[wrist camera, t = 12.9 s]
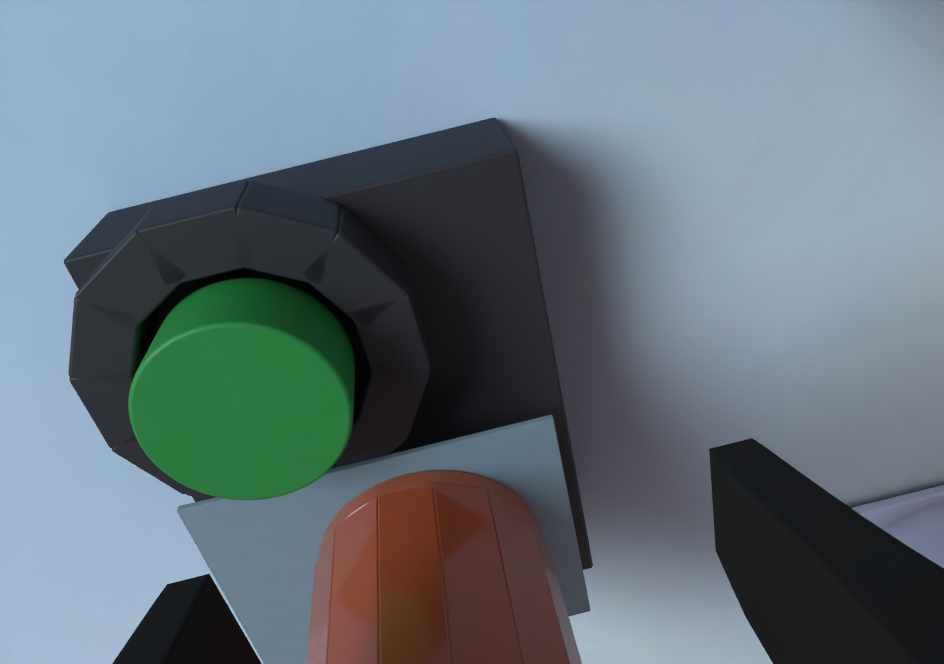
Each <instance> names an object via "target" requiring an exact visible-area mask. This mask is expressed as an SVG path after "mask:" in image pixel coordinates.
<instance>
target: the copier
mask: <svg viewBox="0 0 944 664" xmlns="http://www.w3.org/2000/svg"><path fill="white" fill-rule="evenodd" d="M64 264H65V265H66V267H67V269H68V271H69V273H70V275H71V276H72V278H73V280H74V282H75V284H76V286H77V287H78V289H79V290H78V291H77V293H76V297H75V299H74V310H73V323H72V336H71V348H70V361H69V376H70V382H71V384H72V385H73V387H74V389H75V390H76V392H77V394H78V396H79V397H80V399H81V401H82V402H83V404H84V406H85V407H86V409H87V411H88V412H89V414H90V416H91V417H92V419H93V421H94V422H95V424H96V426H97V427H98V429H99V431H100V432H101V434H102V436H103V437H104V439H105V441H106V442H107V444H108V446H109V447H110V448H112V451H113V452H115V453H116V454H118V455H120V456H121V457H123V458H125V459H126V460H128V461H129V462H131V463H133V464H134V465H136V466H138V467H139V468H141V469H143V470H144V471H146V472H147V473H149V474H151V475H152V476H154V477H156V478H157V479H159V480H160V481H162V482H164V483H165V484H167V485H169V486H170V487H172V488H174V489H175V490H177V491H178V492H180V493H182V494H186V495H189V496H192V497H193V499H194V501H195V502H199V501H203V500H207V499H211V498H215V496H211V495H208V494H204V493H201V492H198V491H196V490H193V489H191V488H189V487H186V486H185V485H183V484H181V483H179V482H177V481H176V480H174V479H173V478H171V477H170V476H168V475H167V474H165V473H164V472H163V471H162V470H161V469H160V468H158V467H157V466H156V465H155V464H154V463H153V462H152V461H151V459H150V458H149V457H148V456H147V455H146V454H145V452H144V451H143V449H142V448H141V446H140V445H139V443H138V440H137V438H136V436H135V434H134V431H133V428H132V425H131V422H130V416H129V408H128V405H129V393H130V388H131V384H132V381H133V379H134V376H135V374H136V371H137V370H138V368H139V366H140V364H141V362H142V360H143V358H144V356H145V355H146V353H147V351H148V349H149V347H150V345H151V343H152V341H153V340H154V338H155V336H156V334H157V332H158V330H159V328H160V326H161V325H162V323H163V321H164V320H165V318H166V316H167V315H168V314H169V312H170V311H171V310H172V309H173V308H174V307H175V306H176V305H177V304H178V303H179V302H180V301H181V300H183V299H184V298H185V297H186V296H188V295H190V294H191V293H193V292H194V291H196V290H198V289H200V288H203V287H205V286H207V285H210V284H213V283H216V282H220V281H225V280H230V279H238V278H260V279H267V280H273V281H277V282H281V283H284V284H288V285H290V286H293V287H295V288H298V289H300V290H302V291H304V292H306V293H307V294H309V295H311V296H313V297H314V298H315V299H317V300H318V301H320V302H321V303H322V304H324V305H325V306H326V307H327V308H328V309H329V310H330V311H331V312H332V313H333V314H334V315H335V316H336V318H337V319H338V320H339V321H340V323H341V324H342V326H343V327H344V329H345V331H346V332H347V334H348V337H349V339H350V341H351V344H352V348H353V351H354V357H355V386H354V412H353V427H352V431H351V436H350V438H349V441H348V444H347V446H346V448H345V450H344V451H343V453H342V455H341V456H340V458H339V459H338V460H337V462H336V463H335V464H334V465H333V466H332V467H331V468H330V469H333V468H337V467H341V466H345V465H349V464H353V463H357V462H361V461H365V460H369V459H373V458H377V457H381V456H385V455H389V454H393V453H398V452H402V451H406V450H410V449H414V448H418V447H422V446H426V445H430V444H434V443H438V442H442V441H446V440H450V439H454V438H458V437H462V436H466V435H471V434H475V433H479V432H483V431H487V430H491V429H495V428H499V427H503V426H507V425H511V424H515V423H519V422H523V421H527V420H531V419H535V418H540V417H544V416H548V415H552V416H553V419H554V424H555V429H556V435H557V440H558V445H559V450H560V455H561V460H562V466H563V471H564V476H565V481H566V486H567V492H568V497H569V502H570V507H571V512H572V517H573V523H574V528H575V533H576V538H577V543H578V549H579V554H580V559H581V564H582V569H583V570H584V569H588V568H592V566H593V564H592V558H591V553H590V547H589V542H588V536H587V531H586V525H585V520H584V514H583V509H582V503H581V498H580V492H579V487H578V481H577V476H576V470H575V465H574V459H573V454H572V448H571V443H570V437H569V432H568V426H567V421H566V415H565V410H564V404H563V399H562V393H561V388H560V382H559V377H558V371H557V366H556V360H555V355H554V349H553V344H552V338H551V333H550V327H549V322H548V316H547V311H546V305H545V300H544V294H543V289H542V283H541V278H540V272H539V267H538V261H537V256H536V250H535V245H534V239H533V234H532V228H531V222H530V217H529V211H528V206H527V200H526V195H525V189H524V184H523V178H522V173H521V167H520V162H519V156H518V151H517V149H516V148H515V146H514V145H513V143H512V142H511V140H510V139H509V137H508V136H507V134H506V133H505V131H504V130H503V128H502V127H501V125H500V124H499V122H498V120H497V119H496V118H491V119H486V120H482V121H478V122H474V123H470V124H466V125H462V126H458V127H454V128H450V129H446V130H442V131H438V132H434V133H430V134H426V135H421V136H417V137H413V138H409V139H405V140H401V141H397V142H393V143H389V144H385V145H381V146H377V147H373V148H369V149H365V150H360V151H356V152H352V153H348V154H344V155H340V156H336V157H332V158H328V159H324V160H320V161H316V162H312V163H308V164H304V165H300V166H295V167H291V168H287V169H283V170H279V171H275V172H271V173H267V174H263V175H259V176H255V177H251V178H247V179H243V180H239V181H235V182H230V183H226V184H222V185H218V186H214V187H210V188H206V189H202V190H198V191H194V192H190V193H186V194H182V195H178V196H174V197H170V198H165V199H161V200H157V201H153V202H149V203H145V204H141V205H137V206H133V207H129V208H125V209H121V210H117V211H113V212H109V213H108V214H107V215H106V216H105V217H104V218H103V219H102V220H101V221H100V222H99V223H98V224H97V225H96V226H95V227H94V228H93V230H92V231H91V232H90V233H89V234H88V235H87V236H86V237H85V238H84V239H83V240H82V241H81V242H80V243H79V245H78V246H77V247H76V248H75V249H74V250H73V251H72V252H71V253H70V254H69V255H68V256H67V257H66V258H65V260H64Z"/></svg>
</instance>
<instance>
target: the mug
mask: <svg viewBox="0 0 944 664" xmlns="http://www.w3.org/2000/svg"><path fill="white" fill-rule="evenodd" d="M306 664H582V662H581V659H580V655H579V652H578V648H577V645H576V641H575V638H574V634H573V631H572V627H571V624H570V620H569V617H568V613H567V610H566V606H565V603H564V599H563V596H562V592H561V589H560V585H559V582H558V578H557V575H556V571H555V568H554V564H553V561H552V557H551V554H550V550H549V547H548V544H547V542H546V541H545V539H544V537H543V535H542V531H541V528H540V525H539V522H538V520H537V518H536V516H535V514H534V513H533V511H532V510H531V509H530V507H529V506H528V505H527V503H526V502H525V501H524V500H523V499H521V498H520V497H519V496H518V495H517V494H516V493H515V492H513V491H512V490H510V489H509V488H507V487H506V486H504V485H502V484H500V483H498V482H496V481H494V480H491V479H489V478H486V477H483V476H480V475H476V474H472V473H467V472H460V471H451V470H433V471H421V472H415V473H410V474H405V475H401V476H398V477H395V478H391V479H388V480H386V481H384V482H381V483H379V484H377V485H374V486H373V487H371V488H369V489H367V490H365V491H364V492H362V493H361V494H359V495H358V496H356V497H355V498H354V499H352V500H351V501H350V502H349V503H347V504H346V505H345V506H344V507H343V508H342V509H341V510H340V511H339V512H338V514H337V515H336V516H335V517H334V519H333V520H332V521H331V523H330V524H329V526H328V528H327V529H326V531H325V533H324V536H323V538H322V541H321V544H320V548H319V553H318V560H317V561H316V563H315V570H314V581H313V592H312V603H311V615H310V626H309V637H308V648H307V659H306Z"/></svg>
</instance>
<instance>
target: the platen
mask: <svg viewBox="0 0 944 664" xmlns="http://www.w3.org/2000/svg"><path fill="white" fill-rule="evenodd" d="M433 470H451V471H460V472H467V473H472V474H476V475H480V476H483V477H486V478H489V479H491V480H494V481H496V482H498V483H500V484H502V485H504V486H506V487H507V488H509V489H510V490H512V491H513V492H515V493H516V494H517V495H518V496H519V497H520V498H521V499H523V500H524V501H525V502H526V503H527V505H528V506H529V507H530V509H531V510H532V511H533V513H534V514H535V516H536V518H537V520H538V522H539V525H540V528H541V531H542V535H543V537H544V539H545V541H546V542H547V544H548V547H549V550H550V554H551V557H552V561H553V564H554V568H555V571H556V575H557V578H558V582H559V585H560V589H561V592H562V596H563V599H564V603H565V606H566V610H567V613H568V616H572V615H576V614H580V613H584V612H588V611H590V606H589V600H588V595H587V590H586V585H585V580H584V574H583V569H582V564H581V559H580V554H579V549H578V543H577V538H576V533H575V528H574V523H573V517H572V512H571V507H570V502H569V497H568V492H567V486H566V481H565V476H564V471H563V466H562V460H561V455H560V450H559V445H558V440H557V435H556V429H555V424H554V419H553V416H552V415H548V416H544V417H540V418H535V419H531V420H527V421H523V422H519V423H515V424H511V425H507V426H503V427H499V428H495V429H491V430H487V431H483V432H479V433H475V434H471V435H466V436H462V437H458V438H454V439H450V440H446V441H442V442H438V443H434V444H430V445H426V446H422V447H418V448H414V449H410V450H406V451H402V452H398V453H393V454H389V455H385V456H381V457H377V458H373V459H369V460H365V461H361V462H357V463H353V464H349V465H345V466H341V467H337V468H333V469H329V470H328V471H327V472H326V473H325V474H324V475H323V476H322V477H320V478H319V479H318V480H316V481H315V482H313V483H311V484H310V485H308V486H306V487H304V488H302V489H300V490H298V491H295V492H293V493H290V494H287V495H283V496H280V497H275V498H270V499H262V500H233V499H225V498H220V497H215V498H211V499H207V500H203V501H199V502H195V503H191V504H187V505H183V506H179V507H178V510H177V512H178V514H179V516H180V517H181V519H182V521H183V523H184V524H185V526H186V528H187V530H188V531H189V533H190V535H191V537H192V538H193V540H194V542H195V544H196V545H197V547H198V549H199V551H200V552H201V554H202V556H203V558H204V559H205V561H206V563H207V565H208V566H209V568H210V570H211V572H212V573H213V575H214V577H215V579H216V580H217V582H218V584H219V586H220V587H221V589H222V591H223V593H224V594H225V596H226V598H227V600H228V601H229V603H230V605H231V607H232V608H233V610H234V612H235V614H236V615H237V617H238V619H239V621H240V622H241V624H242V626H243V628H244V629H245V631H246V633H247V635H248V636H249V638H250V640H251V642H252V643H253V645H254V647H255V649H256V650H257V652H258V654H259V656H260V657H261V659H262V661H263V663H264V664H306V659H307V648H308V637H309V626H310V615H311V603H312V592H313V581H314V570H315V563H316V561H317V560H318V553H319V548H320V544H321V541H322V538H323V536H324V533H325V531H326V529H327V528H328V526H329V524H330V523H331V521H332V520H333V519H334V517H335V516H336V515H337V514H338V512H339V511H340V510H341V509H342V508H343V507H344V506H345V505H346V504H347V503H349V502H350V501H351V500H352V499H354V498H355V497H356V496H358V495H359V494H361V493H362V492H364V491H365V490H367V489H369V488H371V487H373V486H374V485H377V484H379V483H381V482H384V481H386V480H388V479H391V478H395V477H398V476H401V475H405V474H410V473H415V472H421V471H433Z"/></svg>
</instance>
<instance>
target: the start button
mask: <svg viewBox="0 0 944 664" xmlns="http://www.w3.org/2000/svg"><path fill="white" fill-rule="evenodd" d="M354 386H355V357H354V351H353V348H352V344H351V341H350V339H349V337H348V334H347V332H346V331H345V329H344V327H343V326H342V324H341V323H340V321H339V320H338V319H337V318H336V316H335V315H334V314H333V313H332V312H331V311H330V310H329V309H328V308H327V307H326V306H325V305H324V304H322V303H321V302H320V301H318V300H317V299H315V298H314V297H313V296H311V295H309V294H307V293H306V292H304V291H302V290H300V289H298V288H295V287H293V286H290V285H288V284H284V283H281V282H277V281H273V280H267V279H260V278H238V279H230V280H225V281H220V282H216V283H213V284H210V285H207V286H205V287H203V288H200V289H198V290H196V291H194V292H193V293H191V294H190V295H188V296H186V297H185V298H184V299H183V300H181V301H180V302H179V303H178V304H177V305H176V306H175V307H174V308H173V309H172V310H171V311H170V312H169V314H168V315H167V316H166V318H165V320H164V321H163V323H162V325H161V326H160V328H159V330H158V332H157V334H156V336H155V338H154V340H153V341H152V343H151V345H150V347H149V349H148V351H147V353H146V355H145V356H144V358H143V360H142V362H141V364H140V366H139V368H138V370H137V371H136V374H135V376H134V379H133V381H132V384H131V388H130V393H129V405H128V408H129V416H130V422H131V425H132V428H133V431H134V434H135V436H136V438H137V440H138V443H139V445H140V446H141V448H142V449H143V451H144V452H145V454H146V455H147V456H148V457H149V458H150V459H151V461H152V462H153V463H154V464H155V465H156V466H157V467H158V468H160V469H161V470H162V471H163V472H164V473H165V474H167V475H168V476H170V477H171V478H173V479H174V480H176V481H177V482H179V483H181V484H183V485H185V486H186V487H189V488H191V489H193V490H196V491H198V492H201V493H204V494H208V495H211V496H215V497H220V498H225V499H233V500H262V499H270V498H275V497H280V496H283V495H287V494H290V493H293V492H295V491H298V490H300V489H302V488H304V487H306V486H308V485H310V484H311V483H313V482H315V481H316V480H318V479H319V478H320V477H322V476H323V475H324V474H325V473H326V472H327V471H328V470H329V469H330V468H331V467H332V466H333V465H334V464H335V463H336V462H337V460H338V459H339V458H340V456H341V455H342V453H343V451H344V450H345V448H346V446H347V444H348V441H349V438H350V436H351V431H352V427H353V412H354Z"/></svg>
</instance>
